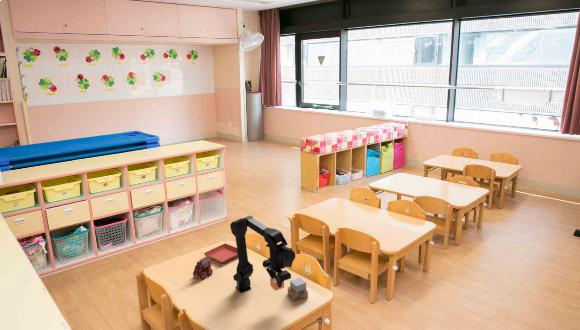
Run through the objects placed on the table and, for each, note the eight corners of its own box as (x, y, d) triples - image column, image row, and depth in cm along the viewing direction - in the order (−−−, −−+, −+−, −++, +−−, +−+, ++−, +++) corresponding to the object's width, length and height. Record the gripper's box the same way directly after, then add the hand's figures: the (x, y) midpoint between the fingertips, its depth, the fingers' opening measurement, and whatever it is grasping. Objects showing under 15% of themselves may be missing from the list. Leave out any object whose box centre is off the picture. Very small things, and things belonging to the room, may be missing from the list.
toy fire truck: (190, 278, 232) (188, 262, 230) (207, 269, 242) (205, 253, 239) (198, 282, 228) (196, 265, 226) (215, 272, 238) (213, 256, 235)
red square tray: (225, 247, 269) (225, 242, 268) (244, 255, 258) (244, 250, 257) (203, 258, 256) (203, 253, 255) (222, 267, 245) (221, 262, 244)
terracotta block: (275, 290, 199) (274, 283, 198) (270, 286, 203) (270, 278, 202) (284, 287, 201) (283, 280, 200) (279, 282, 205) (278, 275, 204)
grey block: (296, 293, 208) (296, 286, 207) (290, 287, 213) (290, 280, 212) (306, 289, 211) (306, 282, 210) (300, 284, 216) (299, 277, 215)
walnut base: (293, 301, 208) (293, 295, 207) (287, 293, 215) (287, 287, 214) (308, 298, 211) (307, 291, 210) (301, 290, 218) (301, 283, 217)
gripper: (300, 259, 194) (301, 288, 198) (280, 244, 209) (282, 271, 214) (279, 266, 188) (281, 296, 193) (261, 250, 204) (263, 278, 208)
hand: (277, 284), depth 202 cm, fingers closed on terracotta block, 5 cm apart
